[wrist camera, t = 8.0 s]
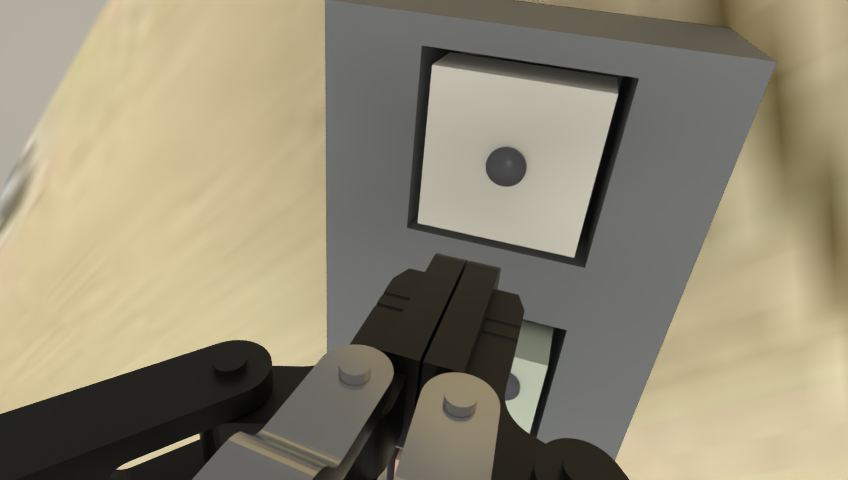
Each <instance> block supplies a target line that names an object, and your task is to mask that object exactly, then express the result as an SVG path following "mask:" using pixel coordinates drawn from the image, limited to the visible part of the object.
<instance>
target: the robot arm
mask: <svg viewBox="0 0 848 480" xmlns="http://www.w3.org/2000/svg"><path fill="white" fill-rule="evenodd" d="M500 272H501V268H500V267H496V266H492V265H487V264H483V263H479V262H475V261H469V262H468V260H466V259H461V258H457V257H453V256H448V255H444V254H440V253H436V254H435V255H434V257H433V259H432V260H431V262H430V264H429V266H428V267H427V269H426V271H425V272H423V271H419V270H414V269H410V268H409V269H407V270H406V271H404V272H402V273H401V274H399V275H397V276H395V277H394V278H393V279H392V280H391V282H390V283H389V285H388V286H387V288H386V289H385V291H384V294H382V296H381V297H380V299H379V300H378V302H377V304H376V306H374V308H373V309H372V311H371V312H370V314H369V315H368V317H367V318H366V320H365V322H364V323H363V325H362V326H361V328H360V329H359V331H358V332H357V334H356V335H355V337H354V338H353V340H352V341H351V343H350V344H349V345H345V346H341V347H338V348H335V349H333V350H331V351H329V352H328V353H327V354H325V355H324V356H323V357H322V358H321V359H320V360H319V362H318V363H317V364H316V365H315V366H304V367H297V366H272V361H271V356H270V354H269V353H268V351H267V350H266V349H265V348H264V347H262V346H261V345H259V344H257V343H254V342H250V341H244V340H232V341H226V342H222V343H218V344H215V345H212V346H209V347H206V348H203V349H200V350H197V351H194V352H190V353H187V354H184V355H181V356H178V357H175V358H172V359H169V360H166V361H163V362H160V363H157V364H153V365H150V366H147V367H144V368H141V369H138V370H135V371H132V372H129V373H126V374H123V375H120V376H117V377H113V378H110V379H107V380H104V381H101V382H98V383H95V384H92V385H89V386H86V387H83V388H80V389H76V390H73V391H70V392H67V393H64V394H61V395H58V396H55V397H52V398H49V399H46V400H43V401H39V402H36V403H33V404H30V405H27V406H24V407H21V408H18V409H15V410H12V411H9V412H6V413H2V414H0V480H384V479H385V475H386V467H387V466H388V464H389V461H390V459H391V457H392V454H393V452H394V450H395V447H396V446H398V447H401V448H403V450H402V453H401V457H400V460H399V463H398V466H397V469H396V472H395V476H394V479H393V480H629V479H628V477H627V476H626V475H625V473H624V472H623V471H622V469H621V468H620V467H619V466H618V464H617V463H616V462H615V461H614V460H613V459H612V457H610V456H609V455H608V454H607V453H606V452H605V451H603V450H602V449H600V448H599V447H597V446H595V445H593V444H591V443H589V442H586V441H583V440H579V439H574V438H560V439H555V440H552V441H550V442H548V443H546V444H545V443H544V442H542V441H540V440H539V439H537V438H535V437H534V436H532V435H531V434H529V433H528V432H526V431H525V430H524V429H522V428H521V427H520V426H519V425H518V424H517V423H516V422H515V421H514V419H513V418H512V416H511V415H510V413H509V411H508V409H507V406H506V403H505V394H506V390H507V386H508V382H509V377H510V373H511V369H512V365H513V361H514V356H515V352H516V347H517V343H518V338H519V334H520V330H521V325H522V321H523V316H524V312H525V310H524V307H523V305H522V302H521V300H520V297H519V295H518V294H514V293H509V292H505V291H501V290H497V289H498V284H499V278H500ZM198 433H199V434H200V440H197V441H195V442H192V443H190V444H187V445H185V446H182V447H180V448H178V449H175V450H173V451H170V452H168V453H165V454H163V455H160V456H158V457H156V458H153V459H151V460H148V461H146V462H143V463H141V464H138V465H136V466H134V467H131V468H128V469H123V470H116V469H117V468H118V467H120V466H121V465H123V464H125V463H127V462H129V461H131V460H134V459H136V458H139V457H141V456H144V455H146V454H149V453H151V452H154V451H156V450H159V449H161V448H164V447H166V446H169V445H171V444H174V443H176V442H179V441H181V440H183V439H186V438H188V437H191V436H193V435H196V434H198Z"/></svg>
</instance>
